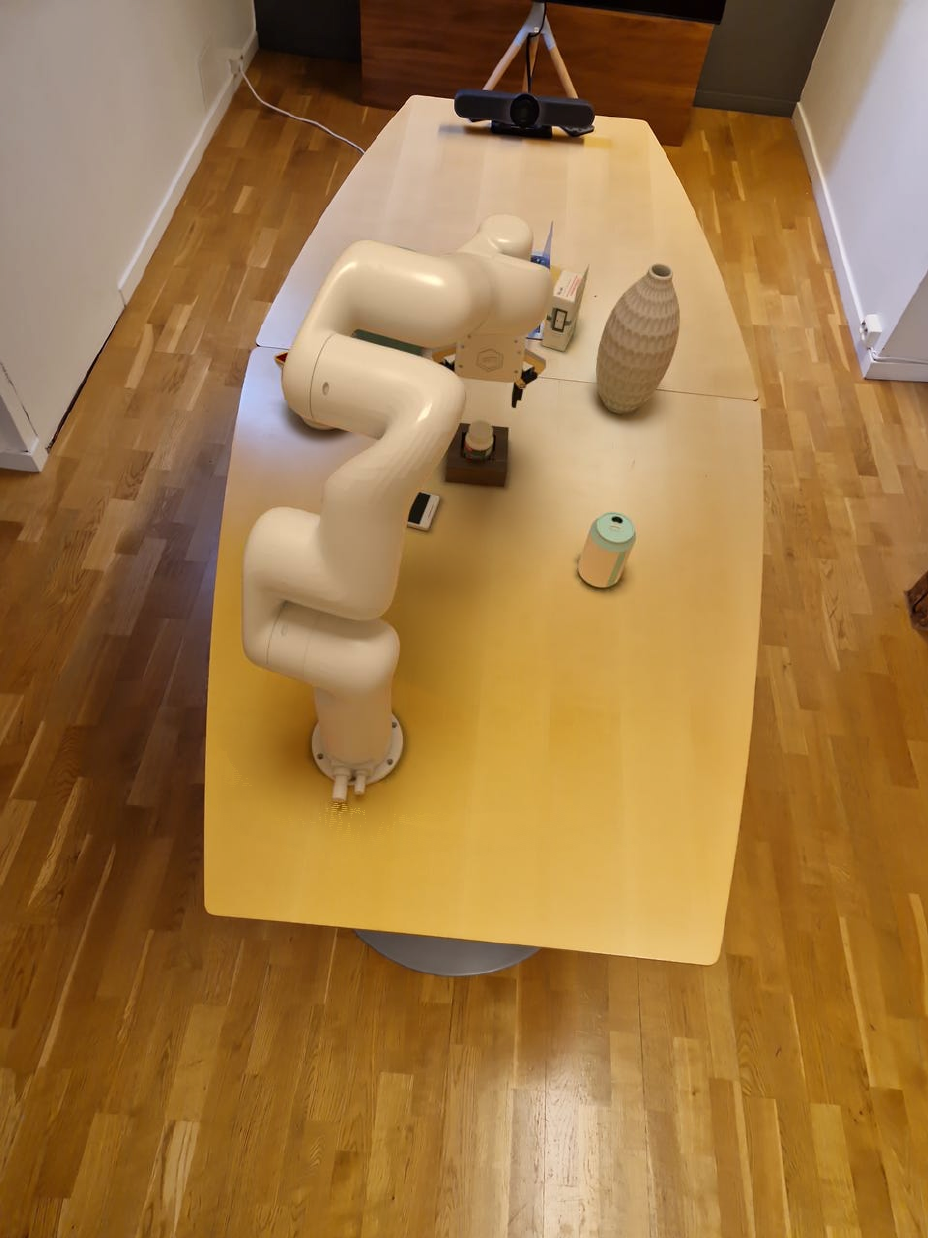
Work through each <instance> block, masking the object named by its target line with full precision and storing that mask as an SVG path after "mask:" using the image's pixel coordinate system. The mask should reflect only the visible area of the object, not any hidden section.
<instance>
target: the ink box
mask: <svg viewBox="0 0 928 1238" xmlns="http://www.w3.org/2000/svg"><path fill="white" fill-rule="evenodd" d="M589 267H590V262H588V263H587V265H586V268H585V270H584V272H583V274H581V273H578V272H574V271H571V270H568V269H564V268H563V269H562V271H561V273H560V275H559V277H558V279H557V280H556V283H555V284H554V293H553V299H552V303H551V306H550V308H549V311H548V313H547V315H546V317H545V324H544V330H543V335H542V340H541V346H542V347H546V348H549V349H553V350H557V351H560V352H565V351H566V349H567V348H568V344H569V343H570V340H571V339H572V336H573V334H574V332H575V330H576V326H577V323H578V322H577V321H578V318H579V313H580V309H581V305H582V300H583V296H584V292H585V288H586V283H587V279H588V274H589Z"/></svg>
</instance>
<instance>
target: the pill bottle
mask: <svg viewBox="0 0 928 1238" xmlns="http://www.w3.org/2000/svg"><path fill="white" fill-rule="evenodd" d="M469 424H470V426H469V432H468V433H467V434H466V438H465V446H464V448H463V455H462V458H471V459H482V460H491V457H492V453H493V451H492V445H493V436H492V433H493V428H492V426H493V425H492V424H491V423H489V421H486V420H482V419H480V420H474V421H473V422H471V423H469Z"/></svg>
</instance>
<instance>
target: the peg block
mask: <svg viewBox="0 0 928 1238" xmlns="http://www.w3.org/2000/svg"><path fill="white" fill-rule="evenodd" d="M470 424H471V423H468V422H460V424H459V427H458V429H457V431H456V433H455V435H454V437H453V439H452V441H451V443H450V445H449V447H448V449H447V456H446V466H445V467H446V468H445V479H444V482H446V483H457V484H466V485H477V486H478V485H479V486H488V487H498V488H499V487H500V488H505V485H506V480H507V474H508V457H509V456H508V455H509V431H510V428H509V427H508V426H499V425H491V426H492V428H493V433H492V436H493V445H492V453H493V454H492V459H490V460H482V459H471V458H463V457H461V455H462V454H461V453H462V449H464V446H465V438H466V434H467V433H468V432H469V426H470Z"/></svg>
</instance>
